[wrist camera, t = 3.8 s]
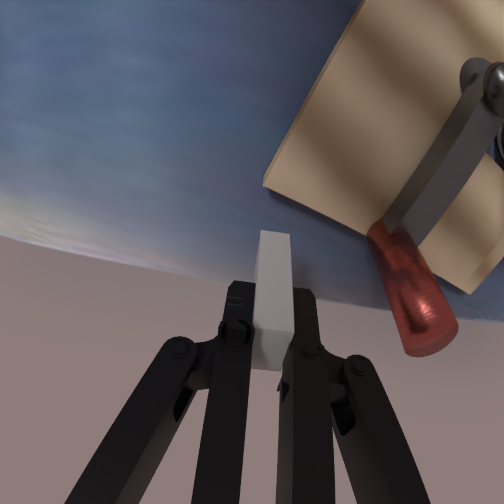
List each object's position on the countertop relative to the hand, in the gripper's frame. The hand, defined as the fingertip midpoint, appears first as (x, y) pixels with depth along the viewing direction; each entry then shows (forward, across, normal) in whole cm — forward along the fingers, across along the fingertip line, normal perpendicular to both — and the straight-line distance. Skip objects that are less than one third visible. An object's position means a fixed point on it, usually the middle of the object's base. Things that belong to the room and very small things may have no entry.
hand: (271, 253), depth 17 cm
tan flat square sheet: (+6, +13, +9) cm, 17 cm away
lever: (+4, +10, +6) cm, 12 cm away
